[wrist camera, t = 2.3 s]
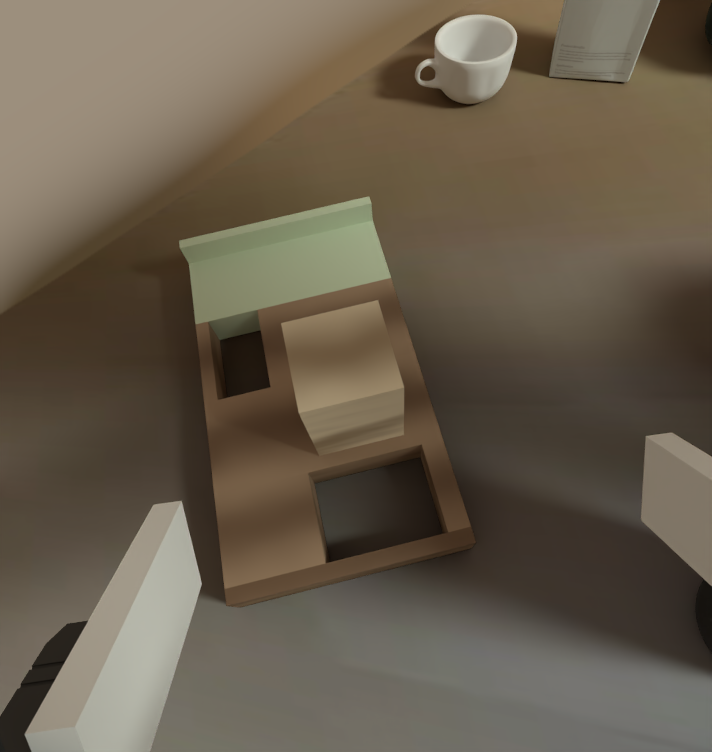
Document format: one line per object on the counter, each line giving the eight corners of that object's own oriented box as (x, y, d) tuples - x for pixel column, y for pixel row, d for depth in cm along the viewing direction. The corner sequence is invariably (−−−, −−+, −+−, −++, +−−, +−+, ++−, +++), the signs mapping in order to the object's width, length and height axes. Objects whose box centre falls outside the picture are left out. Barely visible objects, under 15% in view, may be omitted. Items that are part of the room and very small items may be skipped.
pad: (391, 298, 45) (390, 262, 40) (208, 342, 44) (186, 310, 40) (372, 237, 48) (369, 196, 43) (200, 277, 47) (179, 240, 43)
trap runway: (470, 548, 35) (476, 542, 33) (239, 607, 35) (226, 605, 32) (391, 298, 45) (391, 277, 42) (208, 342, 44) (195, 324, 41)
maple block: (403, 434, 36) (404, 387, 29) (319, 455, 36) (298, 413, 29) (382, 360, 39) (377, 299, 31) (303, 379, 39) (281, 323, 31)
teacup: (489, 58, 57) (497, 6, 52) (519, 103, 54) (531, 51, 49) (402, 82, 56) (402, 31, 52) (427, 128, 53) (429, 79, 48)
